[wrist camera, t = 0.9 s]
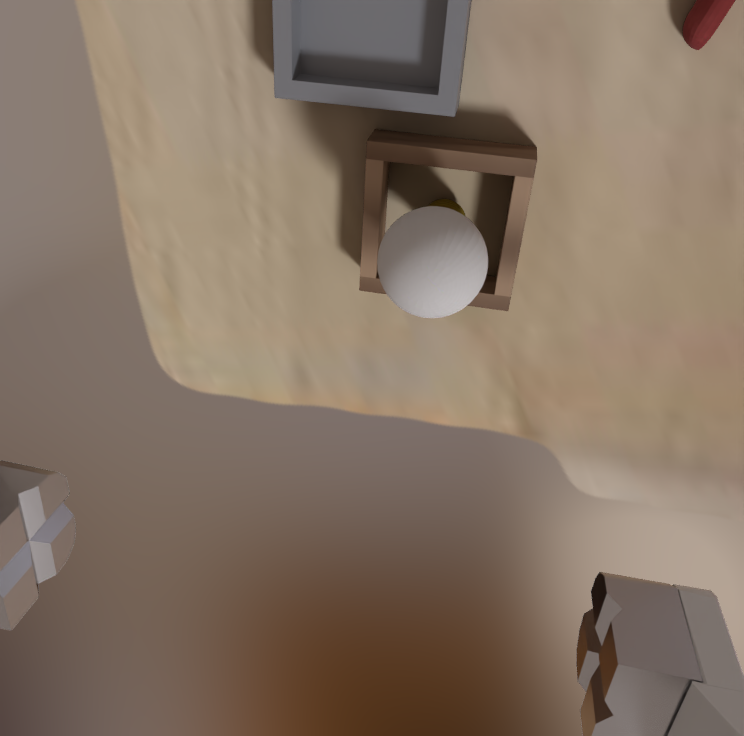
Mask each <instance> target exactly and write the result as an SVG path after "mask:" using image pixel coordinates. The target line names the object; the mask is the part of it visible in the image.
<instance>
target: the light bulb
mask: <svg viewBox="0 0 744 736" xmlns="http://www.w3.org/2000/svg"><path fill="white" fill-rule="evenodd" d="M377 266H378V274H379V278H380V282H381V284H382V286H383V289H384V290H385V292H386V294H387V295H388V297H389V298H390V299H391V300H392V301H393V302H394V303H395V304H396V305H397V306H398V307H400V308H401V309H403V310H404V311H406V312H408V313H410V314H412V315H415V316H419V317H424V318H440V317H445V316H449V315H451V314H454V313H456V312H458V311H460V310H461V309H463V308H465V307H466V306H467V305H468V304H469V303H471V302H472V300H473V299H474V298H475V297H476V296H477V294H478V293H479V291H480V290H481V288H482V286H483V284H484V281H485V278H486V274H487V269H488V254H487V248H486V245H485V242H484V239H483V237H482V235H481V233H480V231H479V230H478V229H477V227H476V226H475V225H474V224H473V223H472V222H471V221H470V220H469V219H468V218H467V217H465V213H464V211H463V209H462V208H461V206H460V205H459V204H457V203H456V202H454V201H452V200H448V199H439V200H436V201H434V202H432V203H431V204H429V205H428V206H427V207H421V208H418V209H415V210H412V211H410V212H408V213H406V214H404V215H403V216H401V217H400V218H399V219H397V220H396V221H395V222H394V223H393V224H392V225H391V226H390V228H389V229H388V231H387V232H386V233H385V235H384V237H383V239H382V242H381V244H380V248H379V251H378V259H377Z"/></svg>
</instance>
